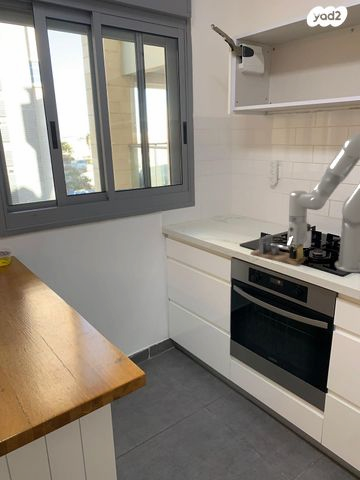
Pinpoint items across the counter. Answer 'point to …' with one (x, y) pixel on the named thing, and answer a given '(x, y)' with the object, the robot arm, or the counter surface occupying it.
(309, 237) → the jar
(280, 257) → the board
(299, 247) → the hook rod
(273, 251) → the cradle
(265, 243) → the grey arch
